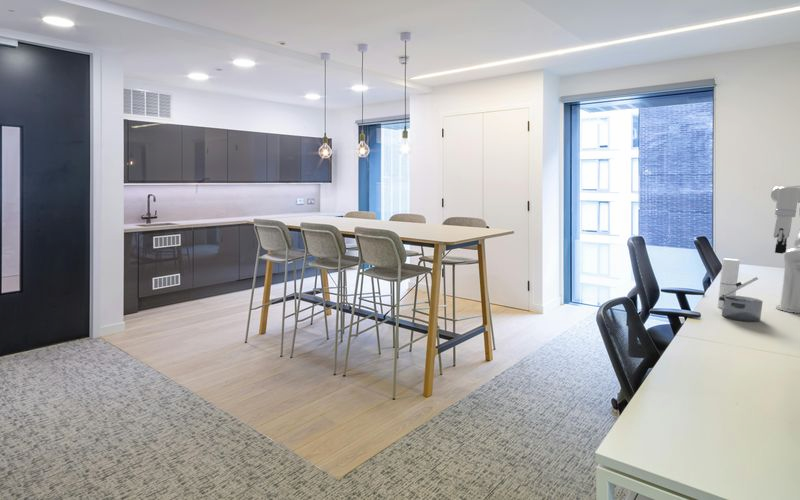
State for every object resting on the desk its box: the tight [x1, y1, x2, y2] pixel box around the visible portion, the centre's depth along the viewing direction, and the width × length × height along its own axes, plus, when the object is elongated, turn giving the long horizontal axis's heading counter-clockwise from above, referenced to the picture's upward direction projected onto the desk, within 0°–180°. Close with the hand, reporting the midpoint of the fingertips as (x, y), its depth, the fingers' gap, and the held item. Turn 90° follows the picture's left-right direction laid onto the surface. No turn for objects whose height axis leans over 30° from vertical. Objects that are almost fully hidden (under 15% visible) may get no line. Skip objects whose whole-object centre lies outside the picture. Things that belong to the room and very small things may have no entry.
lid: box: [723, 276, 759, 296], centre depth 231 cm, size 16×16×3 cm
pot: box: [718, 295, 763, 323], centre depth 232 cm, size 20×16×9 cm
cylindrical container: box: [717, 257, 741, 309], centre depth 250 cm, size 7×7×25 cm
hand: (780, 252), depth 230 cm, fingers open, 4 cm apart
